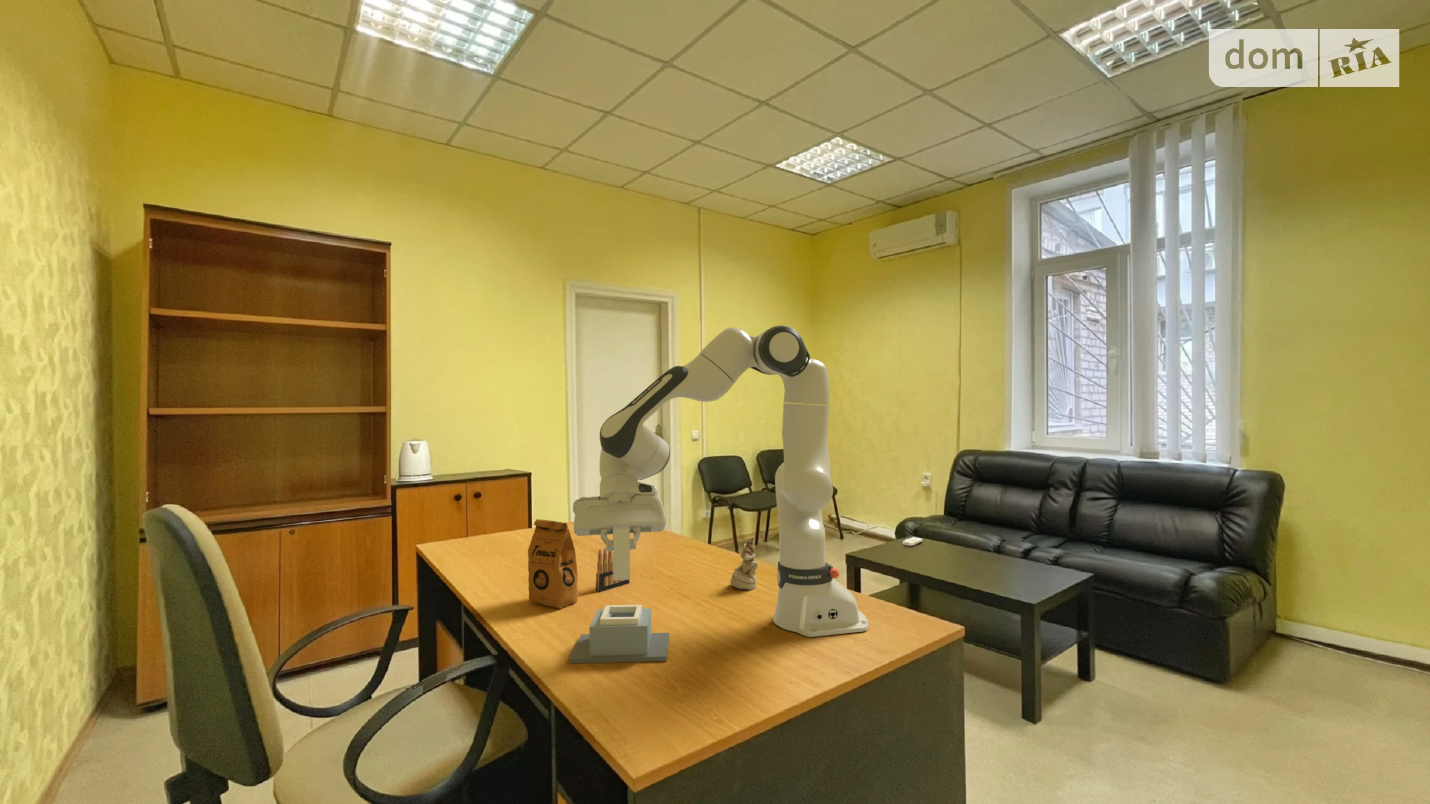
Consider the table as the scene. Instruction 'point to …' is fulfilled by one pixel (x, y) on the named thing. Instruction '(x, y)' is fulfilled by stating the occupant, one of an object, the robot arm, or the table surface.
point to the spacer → (621, 620)
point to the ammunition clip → (606, 573)
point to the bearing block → (621, 641)
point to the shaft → (621, 552)
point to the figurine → (746, 568)
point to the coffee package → (552, 565)
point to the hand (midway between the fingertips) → (621, 548)
